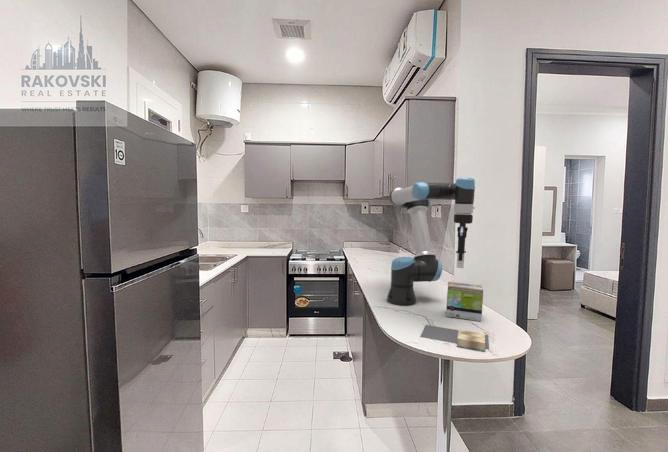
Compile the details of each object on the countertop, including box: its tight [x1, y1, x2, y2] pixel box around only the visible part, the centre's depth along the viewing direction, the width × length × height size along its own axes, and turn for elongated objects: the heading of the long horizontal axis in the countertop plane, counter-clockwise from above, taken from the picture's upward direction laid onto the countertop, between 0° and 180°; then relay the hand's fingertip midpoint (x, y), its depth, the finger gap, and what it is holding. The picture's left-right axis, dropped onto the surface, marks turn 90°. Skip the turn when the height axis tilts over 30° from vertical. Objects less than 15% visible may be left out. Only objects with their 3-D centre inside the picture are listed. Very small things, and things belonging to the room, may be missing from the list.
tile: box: [456, 329, 486, 353], centre depth 116 cm, size 9×3×9 cm
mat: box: [419, 324, 490, 350], centre depth 124 cm, size 24×14×1 cm, turn 65°
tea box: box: [445, 281, 484, 322], centre depth 148 cm, size 15×10×15 cm
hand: (460, 267), depth 139 cm, fingers closed
